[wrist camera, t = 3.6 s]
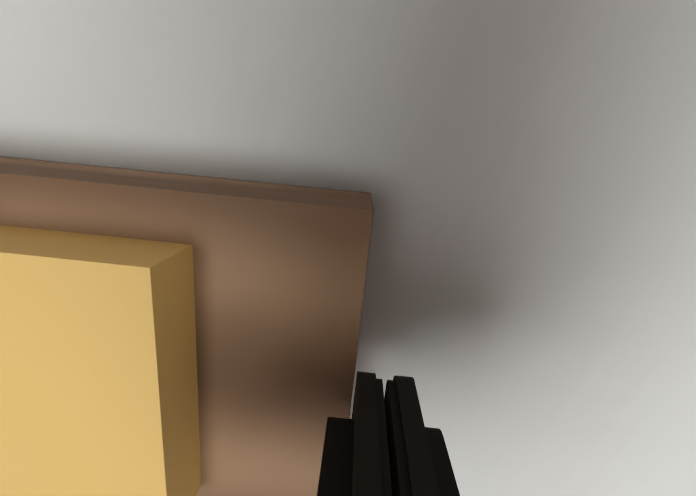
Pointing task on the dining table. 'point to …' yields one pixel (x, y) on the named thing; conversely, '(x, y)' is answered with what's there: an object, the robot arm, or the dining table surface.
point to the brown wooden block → (236, 301)
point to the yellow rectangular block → (97, 366)
